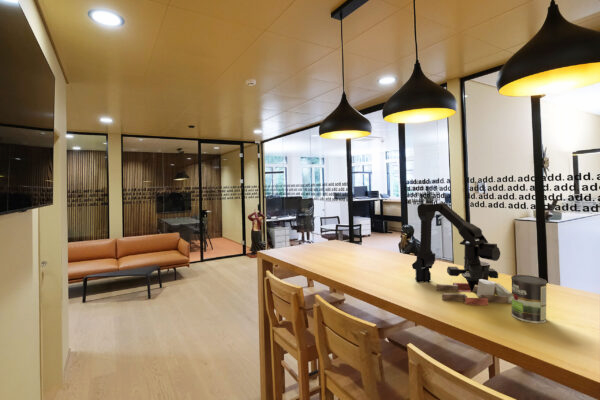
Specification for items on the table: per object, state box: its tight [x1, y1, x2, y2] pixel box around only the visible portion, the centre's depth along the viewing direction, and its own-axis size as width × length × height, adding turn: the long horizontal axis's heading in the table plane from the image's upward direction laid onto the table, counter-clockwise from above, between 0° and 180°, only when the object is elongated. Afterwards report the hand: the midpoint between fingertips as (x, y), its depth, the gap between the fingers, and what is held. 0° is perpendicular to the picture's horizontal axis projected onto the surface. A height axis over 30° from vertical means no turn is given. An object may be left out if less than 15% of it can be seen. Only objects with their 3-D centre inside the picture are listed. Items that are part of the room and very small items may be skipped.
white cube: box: [476, 279, 496, 298], centre depth 132 cm, size 6×6×6 cm
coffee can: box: [510, 274, 548, 324], centre depth 110 cm, size 10×10×14 cm
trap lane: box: [435, 282, 512, 306], centre depth 133 cm, size 26×20×4 cm
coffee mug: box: [475, 260, 491, 286], centre depth 150 cm, size 12×9×10 cm
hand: (471, 291), depth 133 cm, fingers closed
